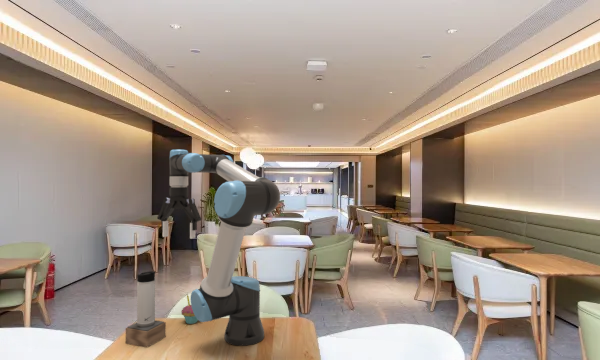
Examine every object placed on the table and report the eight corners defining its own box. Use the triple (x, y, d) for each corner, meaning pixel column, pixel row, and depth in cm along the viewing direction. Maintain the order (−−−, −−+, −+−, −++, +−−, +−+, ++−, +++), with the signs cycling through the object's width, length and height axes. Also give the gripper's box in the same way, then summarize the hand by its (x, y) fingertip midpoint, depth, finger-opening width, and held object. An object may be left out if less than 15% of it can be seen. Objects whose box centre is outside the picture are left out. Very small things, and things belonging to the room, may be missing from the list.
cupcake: (180, 326, 161) (180, 297, 161) (182, 318, 170) (182, 291, 170) (201, 324, 163) (201, 296, 163) (202, 317, 171) (202, 290, 171)
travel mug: (149, 328, 143) (149, 274, 143) (133, 326, 145) (133, 273, 145) (158, 321, 150) (159, 270, 149) (143, 320, 151) (143, 269, 151)
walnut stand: (165, 336, 150) (165, 321, 150) (147, 347, 141) (147, 330, 141) (144, 333, 154) (144, 318, 154) (125, 343, 144) (125, 327, 144)
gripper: (209, 186, 162) (209, 237, 162) (160, 186, 170) (160, 234, 170) (199, 187, 155) (199, 240, 155) (148, 186, 163) (148, 236, 163)
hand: (178, 237), depth 162 cm, fingers open, 13 cm apart
